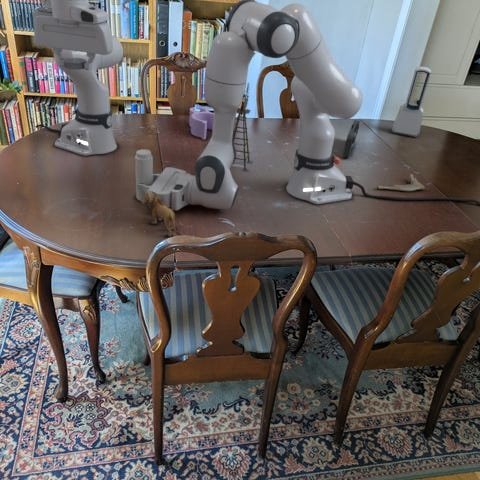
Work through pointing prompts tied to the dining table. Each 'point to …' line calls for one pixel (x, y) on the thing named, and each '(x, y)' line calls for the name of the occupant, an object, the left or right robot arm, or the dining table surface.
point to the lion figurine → (159, 210)
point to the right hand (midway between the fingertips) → (141, 181)
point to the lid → (74, 63)
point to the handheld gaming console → (351, 139)
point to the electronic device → (411, 110)
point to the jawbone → (405, 186)
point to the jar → (143, 170)
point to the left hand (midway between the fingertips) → (76, 67)
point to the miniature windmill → (244, 112)
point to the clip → (201, 122)
